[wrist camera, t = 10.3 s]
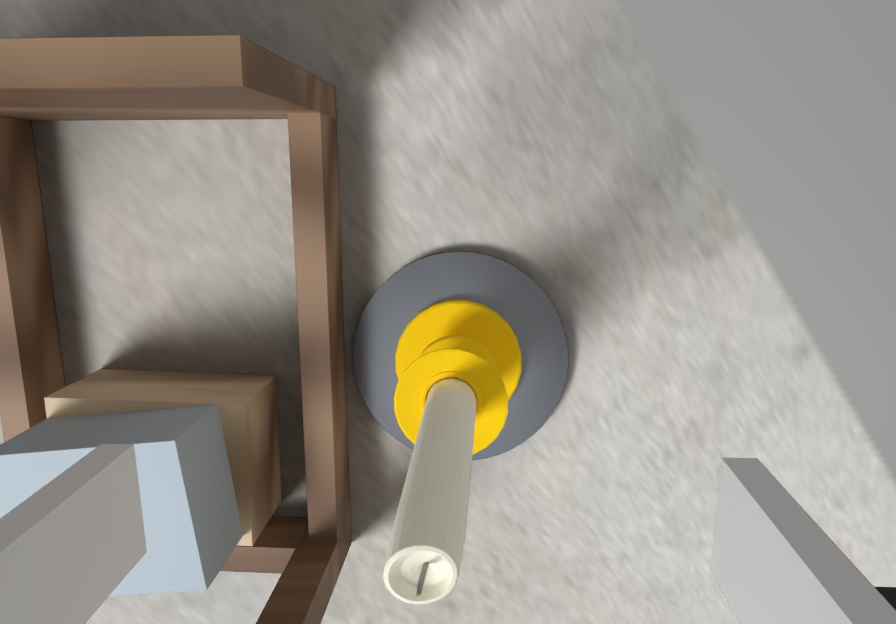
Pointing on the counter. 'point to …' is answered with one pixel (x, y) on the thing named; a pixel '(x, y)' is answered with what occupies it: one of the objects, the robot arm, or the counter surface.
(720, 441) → the counter surface
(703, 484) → the counter surface
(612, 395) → the counter surface
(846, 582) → the robot arm
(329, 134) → the frame
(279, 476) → the offcut lower
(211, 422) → the offcut upper
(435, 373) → the candle
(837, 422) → the counter surface
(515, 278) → the disc
